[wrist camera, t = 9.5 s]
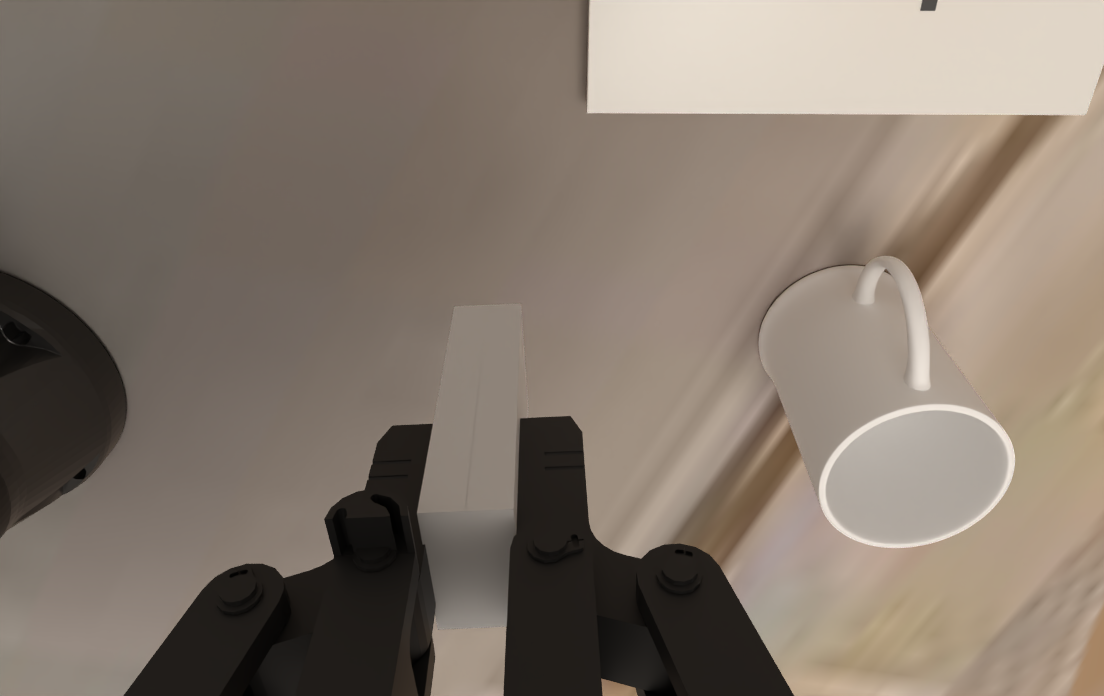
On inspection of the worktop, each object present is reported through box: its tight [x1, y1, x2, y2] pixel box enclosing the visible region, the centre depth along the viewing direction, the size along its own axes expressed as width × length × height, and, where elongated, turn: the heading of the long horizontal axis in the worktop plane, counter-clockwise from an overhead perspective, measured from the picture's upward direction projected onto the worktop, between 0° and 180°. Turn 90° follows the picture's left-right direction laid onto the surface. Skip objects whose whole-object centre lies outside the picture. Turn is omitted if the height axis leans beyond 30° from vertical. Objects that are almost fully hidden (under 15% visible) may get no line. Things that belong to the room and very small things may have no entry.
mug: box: [758, 256, 1015, 548], centre depth 38 cm, size 12×8×12 cm
